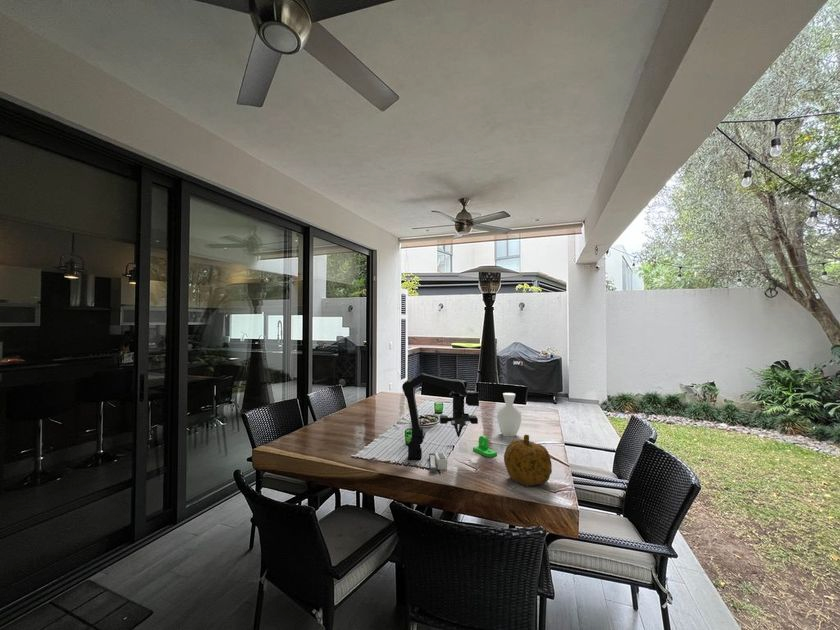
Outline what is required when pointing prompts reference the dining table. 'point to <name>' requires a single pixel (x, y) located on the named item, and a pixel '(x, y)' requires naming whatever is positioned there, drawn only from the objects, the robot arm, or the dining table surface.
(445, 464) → the block
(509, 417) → the vase
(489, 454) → the mechanical part
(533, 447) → the decorative pumpkin
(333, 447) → the dining table surface
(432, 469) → the rail
